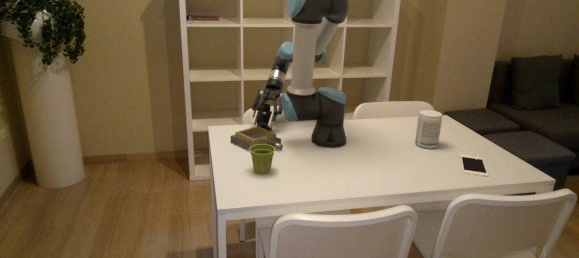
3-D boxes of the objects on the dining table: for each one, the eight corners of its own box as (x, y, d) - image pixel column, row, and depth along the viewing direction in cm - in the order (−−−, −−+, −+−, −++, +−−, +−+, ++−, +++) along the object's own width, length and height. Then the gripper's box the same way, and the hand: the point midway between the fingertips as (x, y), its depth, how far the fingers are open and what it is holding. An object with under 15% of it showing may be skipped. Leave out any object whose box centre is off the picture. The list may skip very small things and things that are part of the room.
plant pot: (265, 178, 153) (265, 156, 150) (243, 171, 157) (243, 149, 154) (279, 169, 160) (280, 147, 157) (259, 163, 165) (259, 141, 162)
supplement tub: (442, 146, 188) (447, 114, 183) (427, 151, 183) (432, 117, 178) (424, 139, 195) (429, 108, 190) (409, 143, 190) (414, 111, 185)
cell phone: (482, 159, 178) (482, 157, 177) (488, 177, 161) (488, 175, 161) (459, 156, 180) (459, 153, 179) (462, 174, 164) (463, 171, 163)
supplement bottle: (260, 133, 193) (260, 108, 189) (254, 129, 199) (254, 103, 194) (274, 131, 196) (275, 106, 192) (268, 127, 202) (268, 102, 197)
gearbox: (287, 148, 180) (288, 137, 178) (262, 157, 170) (262, 145, 168) (255, 134, 193) (255, 124, 191) (230, 142, 183) (230, 131, 182)
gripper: (297, 88, 202) (284, 132, 193) (258, 84, 208) (243, 126, 199) (294, 79, 196) (280, 124, 187) (253, 75, 201) (238, 118, 192)
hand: (261, 125), depth 193 cm, fingers closed on supplement bottle, 7 cm apart
